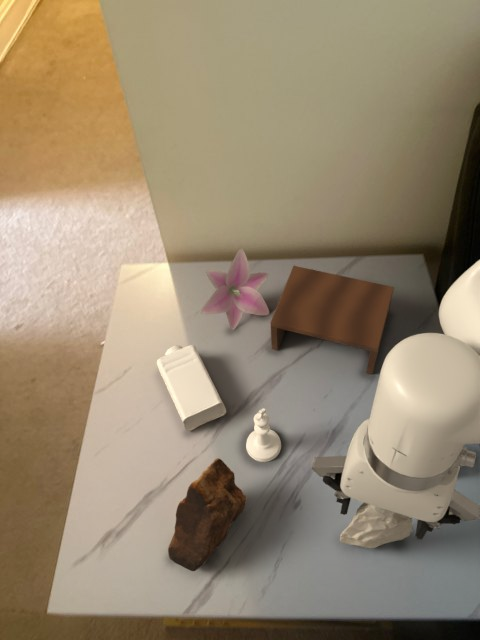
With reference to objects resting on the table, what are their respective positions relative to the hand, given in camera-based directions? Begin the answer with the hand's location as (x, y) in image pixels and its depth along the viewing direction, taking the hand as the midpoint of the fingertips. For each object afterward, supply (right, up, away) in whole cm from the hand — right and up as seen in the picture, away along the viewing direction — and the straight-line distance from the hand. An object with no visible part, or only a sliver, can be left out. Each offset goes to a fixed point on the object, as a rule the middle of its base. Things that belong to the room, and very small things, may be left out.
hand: (382, 513), depth 62 cm
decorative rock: (-20, -6, +11) cm, 23 cm away
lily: (-16, +23, +33) cm, 43 cm away
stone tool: (+1, -6, +8) cm, 11 cm away
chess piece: (-12, +4, +17) cm, 22 cm away
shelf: (-1, +19, +28) cm, 34 cm away
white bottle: (-23, +10, +23) cm, 34 cm away
